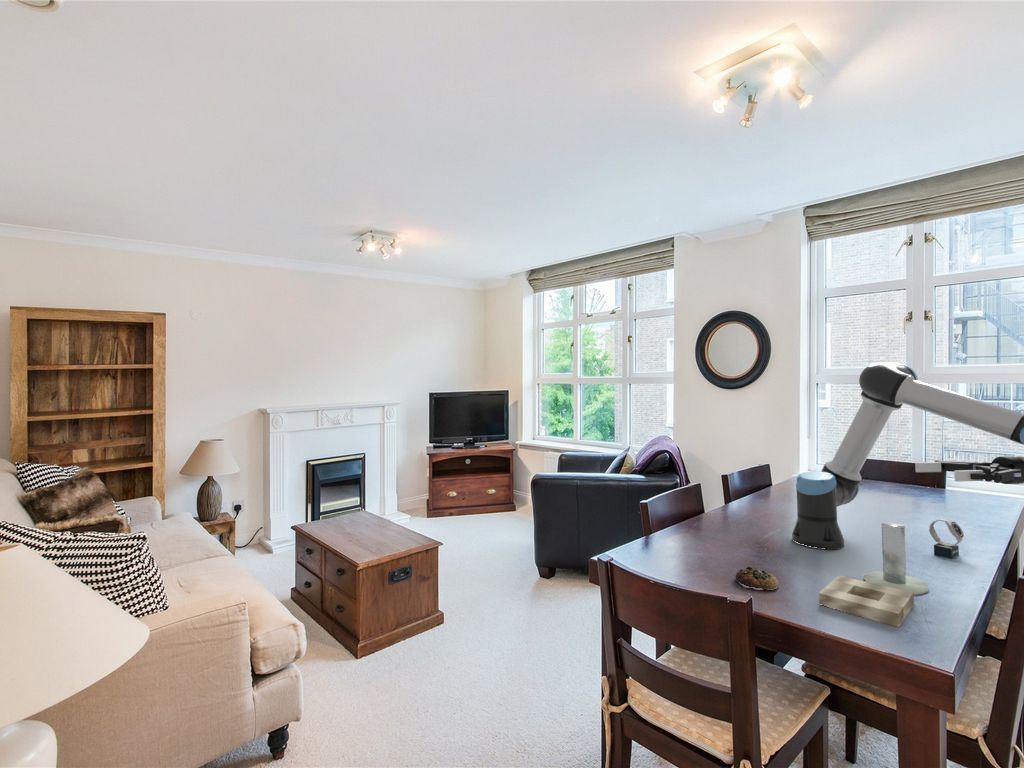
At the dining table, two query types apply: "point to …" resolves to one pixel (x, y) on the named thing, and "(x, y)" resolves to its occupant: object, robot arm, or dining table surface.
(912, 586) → the coaster
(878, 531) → the dining table surface
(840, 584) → the holder block
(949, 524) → the watch
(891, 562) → the canister
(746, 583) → the bread roll
